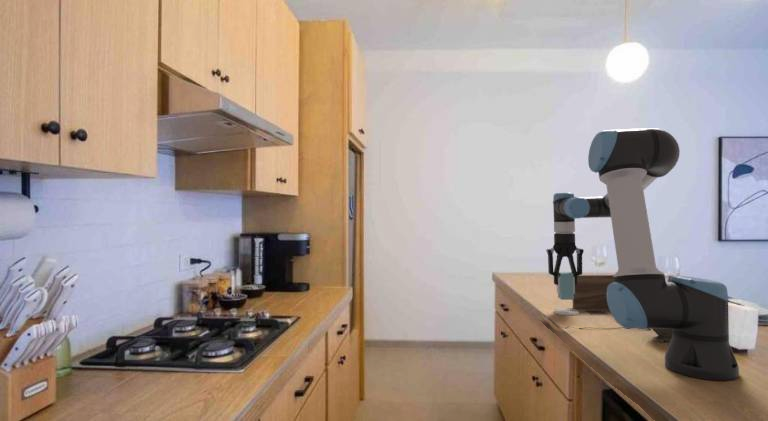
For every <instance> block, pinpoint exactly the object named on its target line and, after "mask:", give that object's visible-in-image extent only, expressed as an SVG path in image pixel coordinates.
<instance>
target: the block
mask: <svg viewBox="0 0 768 421" xmlns="http://www.w3.org/2000/svg"><path fill="white" fill-rule="evenodd" d="M558 276H560V285H561V294H558V293H557V298H558V299H560V300H563V301H564V300H565V301H566V300H568V301H569V300H570V301H573V300H574V289H573V273H572V272H571V271H559V274H558Z"/></svg>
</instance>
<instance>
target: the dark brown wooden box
mask: <svg viewBox="0 0 768 421" xmlns="http://www.w3.org/2000/svg"><path fill="white" fill-rule="evenodd" d="M614 275H615V274H582V275H578V277H577V285H575V294H574V300H572V309H575V310H578V309H580V310H582V309H584V310H585V309H587V310H585V312H586V313H587V314H589V315H593V316H594V315H596V316H597V315H599V316H600V315H602V316H603V315H604V316H606V315H607V316H608V315H609V314H608V313H606V312H605V311H603V310H602V309H604V310H605V309H606V310H610V309H609V307H608V303H607V296H606V293H607V287H608V285H609V284H611V283H612V282H614V279H613V276H614ZM588 309H589V310H588ZM592 309H593V310H592ZM595 309H598V310H595Z"/></svg>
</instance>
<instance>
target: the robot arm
mask: <svg viewBox="0 0 768 421" xmlns="http://www.w3.org/2000/svg"><path fill="white" fill-rule="evenodd" d="M587 158H588V162H587V163H588V167H589V169H590V171H591V172H593V173H596V174H597V173H598V177H599V178H598V180H599V181H600V182H601V183H603V184H604V185H606V190H607V191H606V192H607V193H606V194H605V195H604V196H584V197H583V196H581V197H580V196H575V194H574V193H573V192H559V193H558V192H557V193H556V192H555V193H554V194H553V201H552V204H553V232H554V234H553V241H554V243H553V246H552V247H551V248H546V250H545V251H546V253H547V259H548V260H547V264H548V265H547V266H548V270H547V271H548V274H549V275H551V276H553V284H554V285H556V293H557V295H558V294H561V285H560V276H558V274H559V272H560V269H561V265H562V260H563V258H567V260H568V263H569V267H570V272H571V273H573V289H574V294H575V285H577V277H578V275H583V254H584V251H585V250H584V249H583V248H579V247H577V245H576V234H575V232H576V225H575V223H576V221H575V220H576V219H585V218H586V219H587V218H588V219H590V218H594V219H595V218H610V219H611V226H612V233H613V240H614V241H613V242H614V248H615V253H616V261H617V268H618V270H617V272H615V274H613V275H614V276H613V279H614V282H612V283H611V284H609V285H608V287H607V293H606V296H607V303H608V307H609V309H608V310H609V312H610V313H611V315H612V318H614V320H615V322H616V323H617V324H619V326H621V327H623V328H625V329H636V330H637V329H638V330H652V329H672V338H671V341H670V342H669V344H668V346H667V349H666V352H665V354H664V366H666V368H667V369H669V370H671V371H673V372H676V373H677V374H681V375H684V376H686V377H687V376H688V377H690V378H691V377H692V378H695V379H696V378H697V379H703V380H707V381H732V380H733V381H734V380H735V379H738V378H739V377H740V368H739V365H738V361H737V360H736V357H735V354H734V352H733V349H732V346H731V345H730V328H729V327H730V326H729V324H730V323H729V303H730V299H729V293H728V288H727V286H726V285H725V284H724V283H722V282H720V281H716V280H712V279H711V280H710V279H705V278H700V277H694V276H685V275H671V276H672V277H671V279H670V281H671V282H668V281H667V280H666V275H665V273H664V272H663V271H661V270H659V268H658V267H657V264H656V258H655V253H654V246H653V240H652V233H651V228H650V223H649V217H648V210H647V205H646V199H645V197H646V196H645V192H644V191H645V190H646V189H647V188H648V187H649V186H650V185H651V184H652V183H654V182H655V180H656V179H657V178H662V177H665V176H667V175H668V174H669V173H670V172H671V171H672V170H673V169H674V168H675V167H676V165H677V163H678V161H679V158H680V147H679V143H678V141H677V139H676V138H675V136H673V135H672V134H671V133H669V132H668V131H666V130H663V129H660V128H654V127H653V128H651V127H650V128H649V127H648V128H629V129H626V128H625V129H617V128H614V129H609V130H607V129H606V130H601V131H599V132H597V133H596V134H595V135H594V137H593V139H592V141H591V143H590V147H589V151H588V157H587ZM554 252H555V253H556V259H555V265H554V256H553V255H554ZM575 252H576V263H575V259H574V255H573V254H574V253H575ZM575 264H576V265H575Z"/></svg>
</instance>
